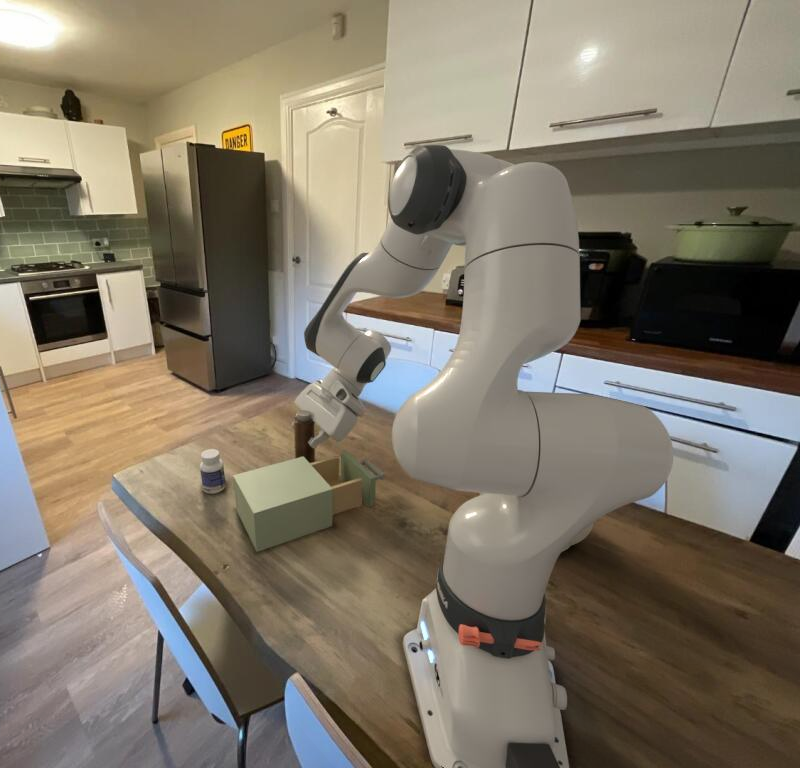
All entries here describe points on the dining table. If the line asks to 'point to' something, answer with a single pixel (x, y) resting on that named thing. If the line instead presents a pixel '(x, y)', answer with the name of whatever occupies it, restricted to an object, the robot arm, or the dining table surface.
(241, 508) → the cabinet
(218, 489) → the pill bottle
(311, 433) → the pepper mill
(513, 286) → the robot arm
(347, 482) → the drawer
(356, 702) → the dining table surface
